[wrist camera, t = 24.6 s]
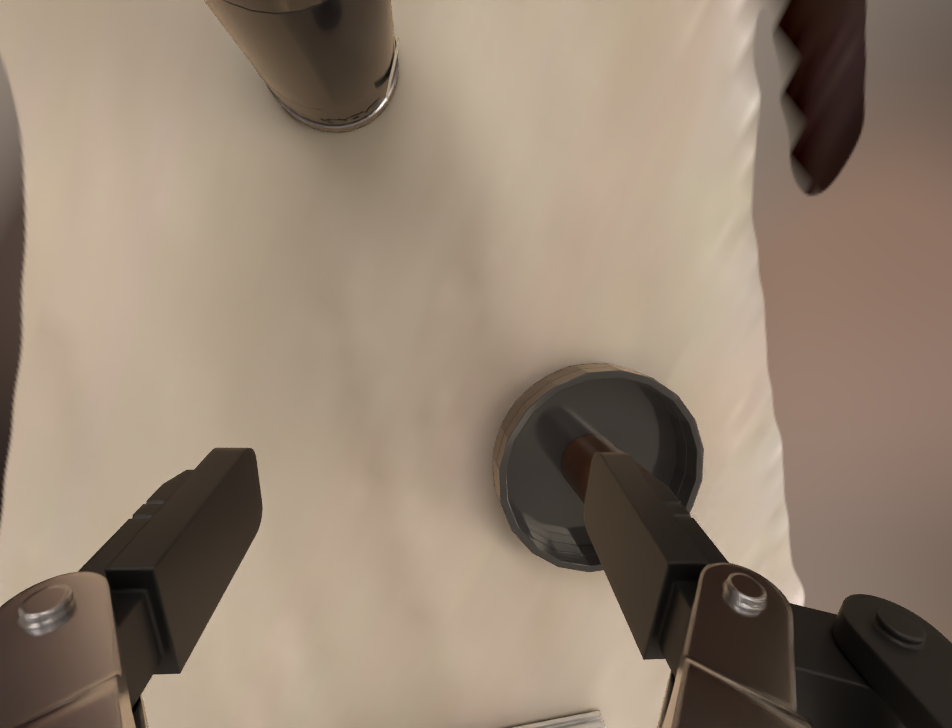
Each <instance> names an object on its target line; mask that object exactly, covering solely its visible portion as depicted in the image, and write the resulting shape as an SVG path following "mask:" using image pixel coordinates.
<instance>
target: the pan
mask: <svg viewBox="0 0 952 728" xmlns="http://www.w3.org/2000/svg"><path fill="white" fill-rule="evenodd" d="M588 434H597V435H601V436H604V437H606V438H607V439H609V440H610V441H611V442H612V443H614V444H615V445H616V446H617V447H619V448H620V449H621V450H622V451H623V452H625V453H628V454H629V455H630V456H631V458H632V459H633V460H634V461H636V462H637V463H638V464H639V465H641V466H642V467H643V468H644V469H646V470H647V471H648V472H649V473H650V474H652V475H653V476H654V477H656V478H657V479H658V480H660V481H661V482H663V483H664V484H665V485H667V486H668V487H669V488H670V489H671V491H672V492H673V493H674V494H675V496H676V497H677V498H678V499H679V501H680V504H681V505H683V506H684V507H685V508H686V510H687V511H688V512H689V513H690V511H691V509H692V508H693V505H694V502H695V499H696V496H697V494H698V491H699V488H700V485H701V482H702V476H703V453H704V448H703V445H702V441H701V438H700V434H699V431H698V427H697V424H696V421H695V419H694V417H693V416H692V415H691V413H690V412H689V410H688V409H687V408H686V406H685V405H684V403H683V402H682V401H681V399H680V398H679V396H678V395H677V394H675V393H674V392H672V391H671V390H669V389H668V388H666V387H665V386H663V385H662V384H661V383H659V382H658V381H656V380H655V379H653V378H651V377H649V376H646V375H644V374H641V373H639V372H636V371H633V370H629V369H626V368H622V367H619V366H614V365H610V364H598V363H592V364H581V365H576V366H571V367H567V368H564V369H562V370H559V371H556V372H554V373H552V374H550V375H548V376H546V377H544V378H543V379H541V380H540V381H538V382H537V383H535V384H534V385H533V386H531V387H530V388H529V389H528V390H527V391H526V392H524V393H523V395H522V396H521V397H520V398H519V399H518V400H517V401H516V402H515V404H514V405H513V406H512V408H511V409H510V411H509V412H508V413H507V415H506V417H505V419H504V421H503V423H502V425H501V427H500V430H499V432H498V435H497V438H496V443H495V447H494V454H493V476H494V486H495V489H496V491H497V494H498V497H499V499H500V502H501V505H502V507H503V509H504V512H505V514H506V517H507V519H508V522H509V524H510V527H511V529H512V531H513V532H514V533H515V534H516V535H517V537H518V538H519V539H520V540H521V541H522V542H523V543H524V544H525V545H526V546H527V548H528V549H529V550H530V551H531V552H532V553H533V554H535V555H537V556H539V557H541V558H543V559H545V560H547V561H548V562H550V563H552V564H554V565H556V566H558V567H562V568H567V569H573V570H579V571H585V572H594V571H601V570H604V569H603V567H602V564H601V562H600V560H599V558H598V555H597V553H596V551H595V549H594V546H593V544H592V542H591V540H590V537H589V535H588V533H587V530H586V527H585V522H584V504H583V502H582V501H581V500H580V498H579V497H578V496H577V494H576V493H575V492H574V490H573V489H572V488H571V486H570V485H569V484H568V482H567V481H566V480H565V478H564V476H563V474H562V470H561V460H562V456H563V453H564V451H565V450H566V448H567V447H568V445H569V444H570V443H571V442H572V441H574V440H575V439H577V438H579V437H581V436H583V435H588Z"/></svg>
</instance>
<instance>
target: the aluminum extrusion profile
mask: <svg viewBox="0 0 952 728" xmlns="http://www.w3.org/2000/svg"><path fill="white" fill-rule="evenodd" d="M512 728H605V722H604V720H602V721H601V712H600V710H599V711H594V712H589V713H583V714H578V715H573V716H568V717H563V718H558V719H553V720H548V721H543V722H538V723H533V724H528V725H523V726H517V727H512Z"/></svg>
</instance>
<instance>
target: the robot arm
mask: <svg viewBox="0 0 952 728" xmlns="http://www.w3.org/2000/svg"><path fill="white" fill-rule="evenodd" d="M204 1H205V3H206V4H207V5H208V7H209V8H210V9H211V11H212V12H213V13H214V15H215V16H216V17H217V18H218V20H219V21H220V22H221V24H222V25H223V26H224V28H225V29H226V30H227V32H228V33H229V34H230V36H231V37H232V38H233V40H234V41H235V42H236V44H237V45H238V46H239V48H240V49H241V50H242V52H243V53H244V54H245V56H246V57H247V58H248V60H249V61H250V62H251V63H252V65H253V66H254V67H255V69H256V70H257V72H258V73H259V74H260V76H261V77H262V78H263V80H264V81H265V83H266V85H267V86H268V88H269V90H270V91H271V93H272V94H273V95H274V97H275V98H276V99H277V101H278V102H279V103H280V104H281V105H282V107H283V108H284V109H285V110H286V111H287V112H288V113H290V114H291V115H292V116H293V117H295V118H296V119H298V120H299V121H301V122H302V123H304V124H306V125H308V126H311V127H313V128H316V129H319V130H323V131H329V132H345V131H351V130H354V129H358V128H360V127H362V126H365V125H366V124H368V123H370V122H371V121H373V120H374V119H375V118H376V117H377V116H379V115H380V113H381V112H382V111H383V110H384V109H385V107H386V106H387V105H388V103H389V101H390V99H391V97H392V95H393V93H394V90H395V87H396V83H397V77H398V50H399V38H398V41H397V46H396V41H395V37H394V25H393V16H392V6H391V0H204ZM261 518H262V498H261V491H260V483H259V476H258V468H257V460H256V455H255V452H254V450H253V449H251V448H215V449H213V450H212V451H211V452H210V453H209V454H208V455H207V456H206V457H205V458H204V460H203V461H202V462H201V463H200V464H199V465H198V466H197V467H196V468H195V469H194V470H186V471H184V472H182V473H181V474H179V475H177V476H176V477H174V478H172V479H171V480H169V481H167V482H166V483H164V484H163V485H162V486H161V487H160V488H159V489H158V490H157V491H156V492H155V493H154V494H153V495H152V496H151V497H150V498H149V499H148V500H147V503H146V504H143V505H142V506H141V507H140V508H139V509H138V510H137V511H136V512H135V513H134V514H133V518H132V519H129V520H128V521H127V522H126V523H125V524H124V525H123V526H122V527H121V528H120V529H119V530H118V531H117V532H116V533H115V534H114V535H113V536H112V537H111V538H110V539H109V540H108V541H107V542H106V543H105V544H104V545H103V546H102V547H101V548H100V549H99V550H98V551H97V553H96V554H95V555H94V556H93V557H92V558H91V559H90V560H89V561H88V562H87V563H86V564H85V565H84V566H83V567H82V568H81V569H80V570H79V571H78V572H74V573H68V574H64V575H60V576H56V577H53V578H50V579H47V580H45V581H43V582H40V583H38V584H36V585H34V586H32V587H30V588H28V589H26V590H24V591H22V592H21V593H19V594H17V595H16V596H14V597H13V598H11V599H10V600H8V601H7V602H6V603H5V604H3V605H2V606H1V607H0V728H148V722H147V717H146V711H145V705H144V701H143V698H142V694H141V693H142V692H143V690H144V688H145V687H146V685H147V683H148V682H149V680H150V678H151V677H152V675H153V674H180V673H181V671H182V669H183V667H184V665H185V664H186V662H187V660H188V658H189V656H190V654H191V653H192V651H193V649H194V647H195V645H196V643H197V642H198V640H199V638H200V636H201V634H202V632H203V631H204V629H205V627H206V625H207V623H208V622H209V620H210V618H211V616H212V614H213V612H214V611H215V609H216V607H217V605H218V603H219V601H220V600H221V598H222V596H223V594H224V592H225V590H226V589H227V587H228V585H229V583H230V581H231V580H232V578H233V576H234V574H235V572H236V570H237V569H238V567H239V565H240V563H241V561H242V559H243V558H244V556H245V554H246V552H247V550H248V548H249V547H250V545H251V543H252V541H253V539H254V538H255V536H256V534H257V532H258V529H259V526H260V523H261ZM584 522H585V527H586V530H587V533H588V535H589V537H590V540H591V542H592V544H593V546H594V549H595V551H596V553H597V555H598V558H599V560H600V562H601V564H602V567H603V569H604V571H605V573H606V576H607V578H608V580H609V582H610V585H611V587H612V589H613V592H614V594H615V596H616V598H617V601H618V603H619V605H620V607H621V610H622V612H623V614H624V616H625V619H626V621H627V623H628V625H629V628H630V630H631V632H632V634H633V637H634V639H635V641H636V643H637V646H638V648H639V650H640V653H641V655H642V657H643V659H666V661H667V663H668V665H669V667H670V669H671V673H670V676H669V679H668V683H667V687H666V691H665V696H664V700H663V704H662V708H661V713H660V717H659V721H658V726H657V728H952V643H951V642H950V641H948V639H946V638H945V637H944V636H943V635H942V634H941V633H940V632H939V631H938V630H936V629H935V628H934V627H933V626H932V625H930V624H929V623H928V622H926V621H925V620H923V619H922V618H921V617H919V616H918V615H916V614H914V613H913V612H911V611H909V610H907V609H906V608H904V607H902V606H900V605H897V604H895V603H893V602H890V601H888V600H885V599H882V598H879V597H875V596H871V595H863V594H856V595H851V596H849V597H847V598H846V599H845V600H844V601H843V604H842V606H841V608H840V610H839V612H838V615H836V614H832V613H828V612H824V611H820V610H815V609H811V608H807V607H803V606H799V605H795V604H791V603H789V602H788V600H787V599H786V597H785V596H784V595H783V593H782V592H781V591H780V590H779V589H778V588H777V587H776V586H775V585H774V584H772V583H771V582H770V581H769V580H767V579H766V578H764V577H763V576H761V575H759V574H758V573H756V572H754V571H752V570H750V569H747V568H745V567H742V566H739V565H735V564H731V563H729V562H728V561H727V560H726V559H725V557H724V556H723V555H722V554H721V552H720V551H719V550H718V549H717V547H716V546H715V545H714V543H713V542H712V541H711V540H710V538H709V537H708V536H707V535H706V533H705V532H704V531H703V530H702V528H701V527H700V526H699V525H698V523H697V522H696V521H695V520H694V518H691V517H690V513H689V512H688V511H687V510H686V508H685V507H684V506H683V505H681V504H680V501H679V499H678V498H677V497H676V496H675V494H674V493H673V492H672V491H671V489H670V488H669V487H668V486H667V485H665V484H664V483H663V482H661V481H660V480H658V479H657V478H656V477H654V476H653V475H651V474H650V473H642V471H641V470H640V469H639V467H638V466H637V464H636V463H635V462H634V460H633V459H632V458H631V456H630V455H629V454H628V453H617V452H596V453H595V454H594V455H593V458H592V461H591V467H590V473H589V479H588V484H587V490H586V496H585V502H584Z"/></svg>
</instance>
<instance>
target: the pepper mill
mask: <svg viewBox="0 0 952 728" xmlns="http://www.w3.org/2000/svg"><path fill="white" fill-rule="evenodd" d="M596 452H617V453H625V452H623V451H622V450H621V449H620V448H619V447H617V446H616V445H615V444H614V443H612V442H611V441H610V440H609V439H607V438H606V437H604V436H601V435H597V434H588V435H583V436H581V437H579V438H577V439H575V440H574V441H572V442H571V443H570V444H569V445H568V447H567V448H566V450H565V451H564V453H563V456H562V460H561V470H562V474H563V476H564V478H565V480H566V481H567V482H568V484H569V485H570V486H571V488H572V489H573V490H574V492H575V493H576V494H577V496H578V497H579V498H580V500H581V501H582V502H583V504H584V502H585V496H586V490H587V484H588V479H589V473H590V467H591V461H592V458H593V455H594V454H595V453H596ZM634 462H635V463H636V464H637V466H638V467H639V469H640V470H641V471H642V473H649V472H648V471H647V470H646V469H644V468H643V467H642V466H641V465H639V464H638V463H637V462H636V461H634ZM651 475H652V474H651Z"/></svg>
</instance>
